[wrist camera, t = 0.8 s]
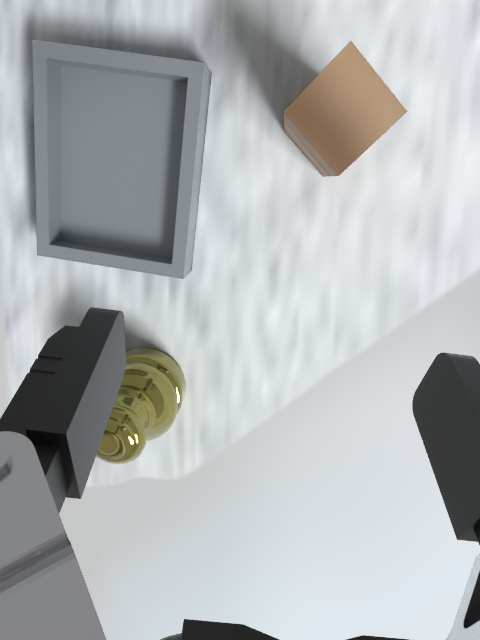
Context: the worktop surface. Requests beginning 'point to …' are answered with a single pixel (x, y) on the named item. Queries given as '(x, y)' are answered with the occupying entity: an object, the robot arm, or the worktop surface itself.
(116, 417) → the olive green lumpy figure
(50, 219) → the parts tray
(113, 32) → the worktop surface
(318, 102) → the block
